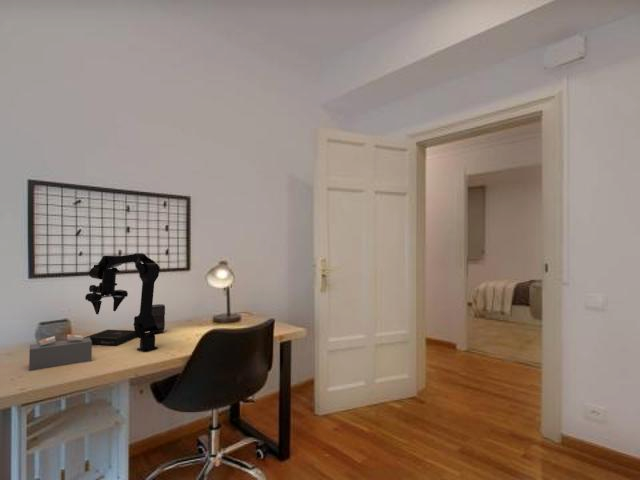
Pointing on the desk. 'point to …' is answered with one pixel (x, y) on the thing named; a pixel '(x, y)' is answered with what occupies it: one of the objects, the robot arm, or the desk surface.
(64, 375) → the desk surface
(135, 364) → the desk surface
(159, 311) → the dark grey tall block
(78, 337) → the rocker
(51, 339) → the block
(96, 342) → the portable cd player
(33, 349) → the switch block
